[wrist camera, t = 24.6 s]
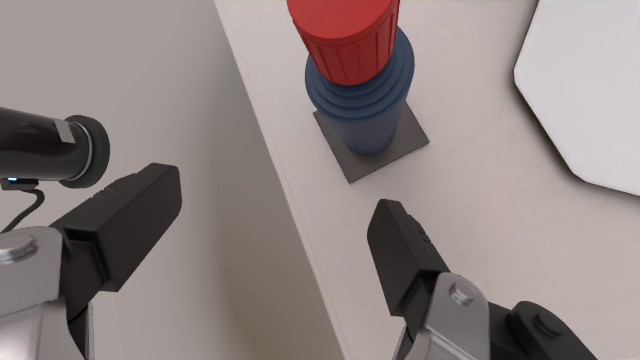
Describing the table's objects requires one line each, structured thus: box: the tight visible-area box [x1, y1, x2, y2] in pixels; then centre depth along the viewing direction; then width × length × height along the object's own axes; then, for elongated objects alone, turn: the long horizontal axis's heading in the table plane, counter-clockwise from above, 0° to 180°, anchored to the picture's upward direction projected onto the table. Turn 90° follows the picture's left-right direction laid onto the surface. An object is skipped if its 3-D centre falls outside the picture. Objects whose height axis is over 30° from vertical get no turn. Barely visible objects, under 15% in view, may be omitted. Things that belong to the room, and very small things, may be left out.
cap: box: [287, 0, 400, 85], centre depth 10 cm, size 4×4×4 cm
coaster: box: [313, 101, 429, 184], centre depth 27 cm, size 10×10×1 cm
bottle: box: [305, 26, 415, 155], centre depth 18 cm, size 6×6×20 cm
